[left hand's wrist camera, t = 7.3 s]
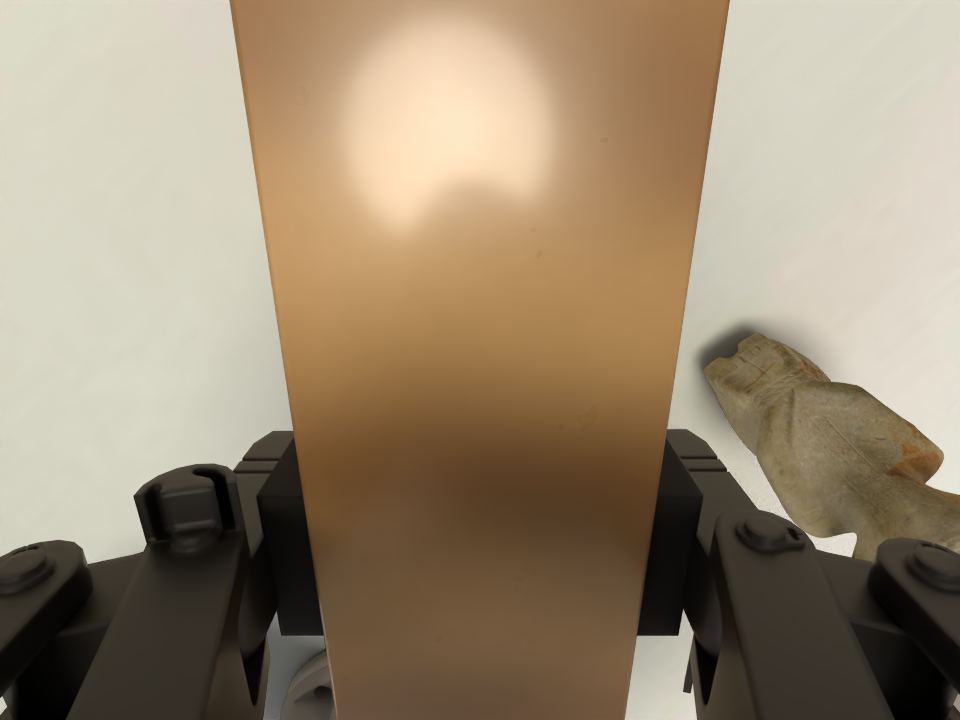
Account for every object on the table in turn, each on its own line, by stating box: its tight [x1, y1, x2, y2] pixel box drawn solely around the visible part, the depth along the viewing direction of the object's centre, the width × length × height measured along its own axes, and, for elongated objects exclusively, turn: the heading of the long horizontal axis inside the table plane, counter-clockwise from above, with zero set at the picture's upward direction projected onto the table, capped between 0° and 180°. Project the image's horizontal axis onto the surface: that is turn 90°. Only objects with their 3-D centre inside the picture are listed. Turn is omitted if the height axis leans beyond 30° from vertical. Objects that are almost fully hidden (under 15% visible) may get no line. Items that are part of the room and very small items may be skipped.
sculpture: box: [703, 333, 960, 562], centre depth 23 cm, size 6×7×15 cm
